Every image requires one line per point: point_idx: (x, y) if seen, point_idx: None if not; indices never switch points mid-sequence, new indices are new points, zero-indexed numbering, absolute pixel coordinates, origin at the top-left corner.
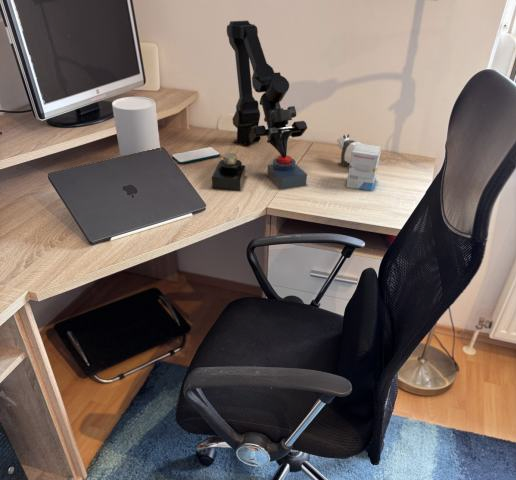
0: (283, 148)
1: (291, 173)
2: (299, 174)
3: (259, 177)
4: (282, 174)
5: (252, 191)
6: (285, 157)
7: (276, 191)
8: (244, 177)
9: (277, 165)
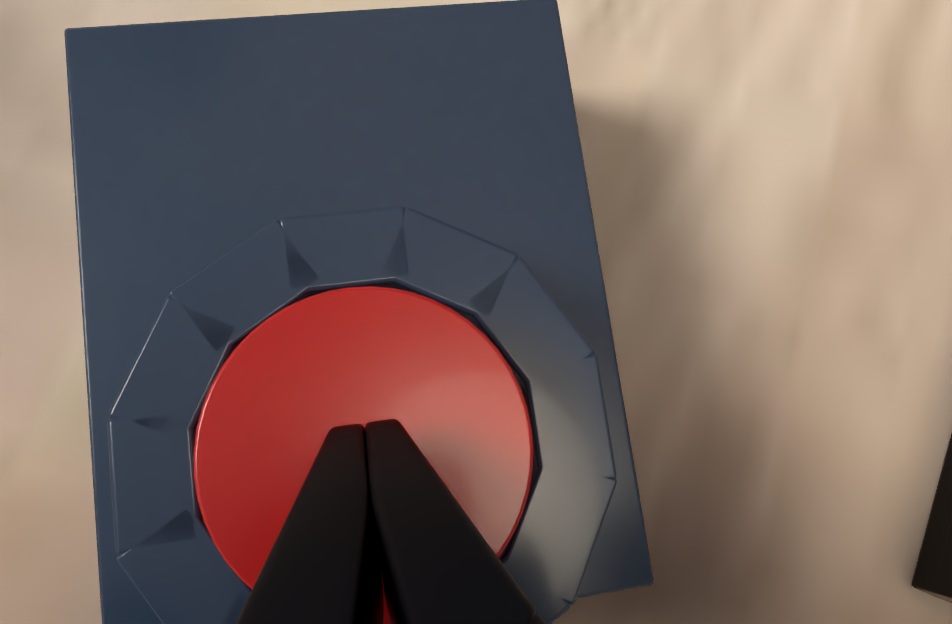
0: (367, 613)
1: (337, 121)
2: (210, 44)
3: (715, 532)
4: (507, 118)
5: (879, 132)
6: None
7: (592, 60)
8: (942, 520)
9: (560, 314)
